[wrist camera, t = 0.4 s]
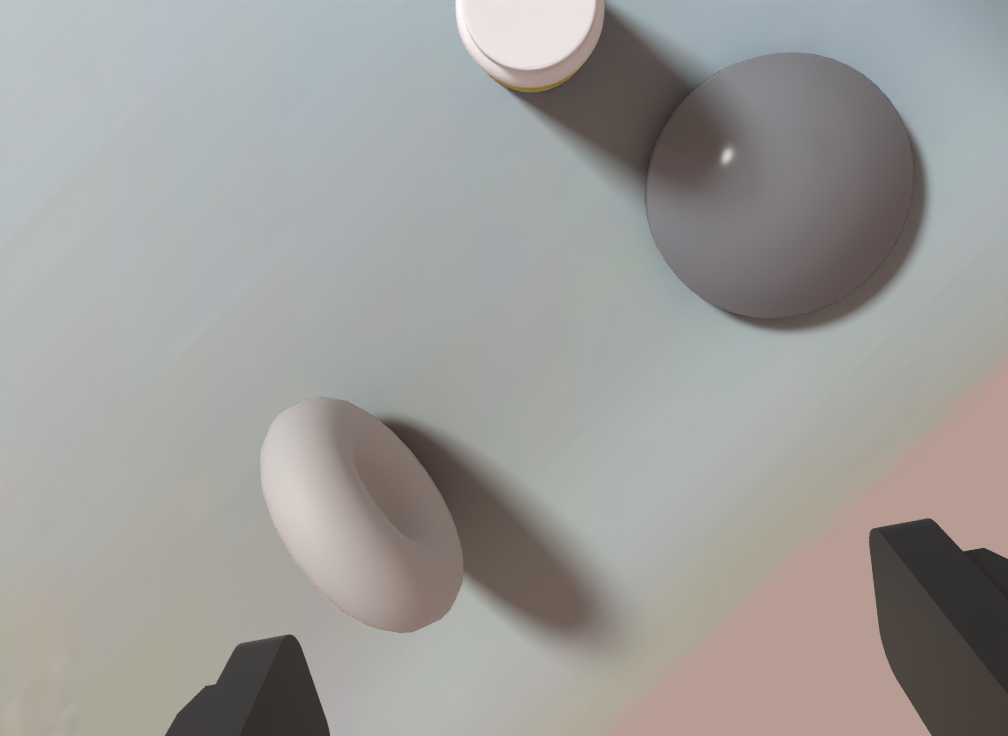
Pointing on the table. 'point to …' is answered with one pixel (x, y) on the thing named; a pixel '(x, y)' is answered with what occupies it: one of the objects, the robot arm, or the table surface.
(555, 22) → the supplement bottle
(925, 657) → the robot arm
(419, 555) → the donut
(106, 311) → the table surface
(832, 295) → the dish low side
